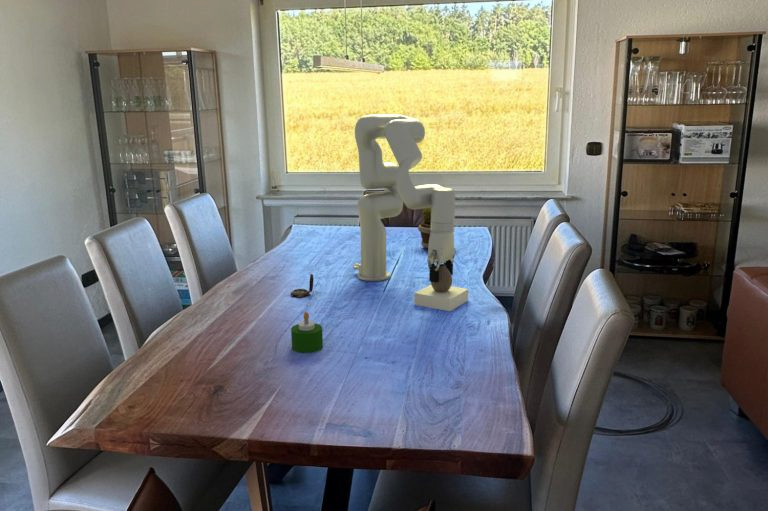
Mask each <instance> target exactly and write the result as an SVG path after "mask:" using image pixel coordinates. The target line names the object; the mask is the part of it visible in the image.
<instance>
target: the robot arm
mask: <svg viewBox="0 0 768 511" xmlns="http://www.w3.org/2000/svg"><path fill="white" fill-rule="evenodd" d="M425 135H426V131H425V126H424V124H423V123H422V122H421V121H420V120H418V119H417V118H415V117H410V116H406V115H403V114H398V113H392V114H391V113H387V114H386V113H385V114H384V113H383V114H382V113H381V114H379V113H378V114H377V113H376V114H367V115H364V116H361V117H360V118H359V119H358V120H357V122H356V123H355V126H354V138H355V143H356V146H357V151H358V163H359V164H358V166H359V169H358V170H359V181H360V184H361V187H362V188H363V189H365V190H369V191H371V190H384V192H383V191H382V192H373V193H366V194H364V195H362V196H361V197H360V198H358V201H357V204H356V205H357V214H358V219H359V227H360V228H359V231H360V263H357V262H356V263H354V265H353V270H357V271H358V273H356V277H357V278H358V280H361V281H366V282H367V281H368V282H381V281H385V280H388V279H390V278H391V275H392V274H391V272H389V271H387V230H386V227H385V225H384V223H383V221H382V220H381V219H386V218H393V217H397V216H399V215H400V214H401V213H402V211H403V207H404V206H406V208H408V209H410V210H421V209H422V210H423V209H424V208H431V233H430V238H429V246H428V250H427V259H426V260H427V261H426V262H427V266H428V271H429V276H428V279H429V280H428V281H429V282H430V283H431V282H436V283H438V282H439V270H438V268H439V265H440V264H445V265H446V268H447V269H448V270H449V272H450V273H451V276H453V274H454V262H455V260H454V258H455V253H456V248H455V238H454V237H455V236H454V235H455V234H454V232H455V220H456V219H455V216H456V215H455V213H456V191H455V190H454V189H453V188H450V187H443V186H441V185H439V184H436V183H435V184H434V183H433V184H432V183H431V184H421V185H414V183H413V181H412V180H411V176H410V173H409V172H410V170H411V169H413V168H415V167H416V166H417V165H418V164H419V163H420V162H421V161H422V159H423V154H422V152H421V149H420V148H419V146H418V144H419V143H421V142H423V140H424V139H425ZM377 139H379V140H381V139H383V140H384V139H386V141H387V143H388V146H389V147H390V150H391V152H392V153H393V154H392V155H393V156H394V158H395V161H396V162H397V164H396V163H395V162H390V161H388V162H387V161H386V162H384V160H383V151H382V148H381V146H380V144H379V143H378V141H377Z"/></svg>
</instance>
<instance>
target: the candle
mask: <svg viewBox="0 0 768 511" xmlns="http://www.w3.org/2000/svg"><path fill="white" fill-rule="evenodd" d="M309 318H310V315H309V313H308V312H307V311H306V312H305V311H304V314H303V321H299V322H298V323H297V324H294V325H293V326H292V327H291V330H290V333H291V334H290V335H291V336H290V337H291V349H292V350H293V351H294V353H295V352H296V353H299V354H300V353H302V354H310V353H311V354H312V353H316V352H320V350H322V349H323V347H324V346H323V345H324V344H323V342H324V341H323V326H322V325H321V324H319V323H315V321H313V320H309Z"/></svg>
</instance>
